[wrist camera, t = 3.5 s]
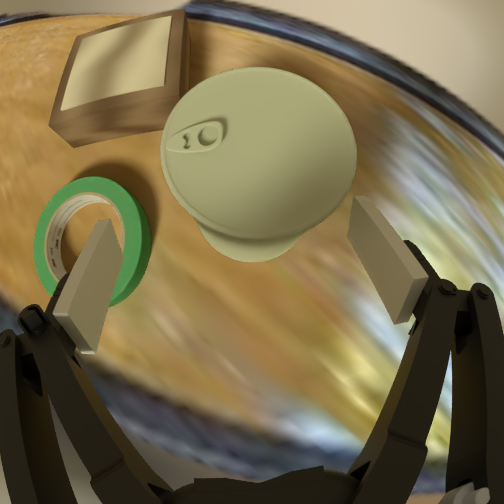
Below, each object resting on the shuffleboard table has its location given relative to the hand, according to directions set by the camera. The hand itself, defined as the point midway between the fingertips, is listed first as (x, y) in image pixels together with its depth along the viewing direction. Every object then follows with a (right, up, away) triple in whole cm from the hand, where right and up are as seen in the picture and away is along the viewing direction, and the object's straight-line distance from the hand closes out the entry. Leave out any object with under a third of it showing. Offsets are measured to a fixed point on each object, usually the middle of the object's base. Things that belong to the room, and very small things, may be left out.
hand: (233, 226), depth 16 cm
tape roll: (-13, -1, +8) cm, 15 cm away
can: (+1, +2, +9) cm, 9 cm away
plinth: (-11, +15, +10) cm, 21 cm away
